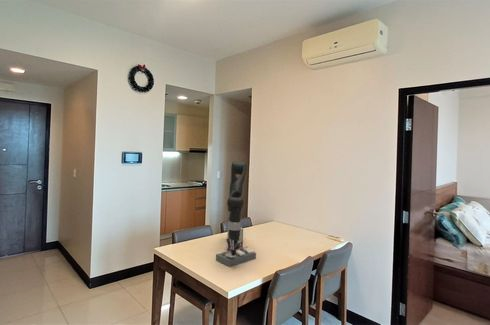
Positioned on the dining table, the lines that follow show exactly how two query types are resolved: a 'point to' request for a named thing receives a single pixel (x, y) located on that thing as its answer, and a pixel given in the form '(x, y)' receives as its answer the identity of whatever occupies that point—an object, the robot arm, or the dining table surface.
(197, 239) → the dining table surface
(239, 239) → the candy bar box
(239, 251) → the rocker
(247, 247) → the rocker
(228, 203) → the robot arm
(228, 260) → the grey control panel
